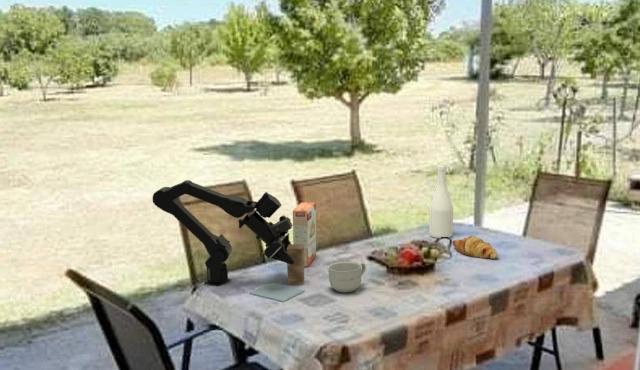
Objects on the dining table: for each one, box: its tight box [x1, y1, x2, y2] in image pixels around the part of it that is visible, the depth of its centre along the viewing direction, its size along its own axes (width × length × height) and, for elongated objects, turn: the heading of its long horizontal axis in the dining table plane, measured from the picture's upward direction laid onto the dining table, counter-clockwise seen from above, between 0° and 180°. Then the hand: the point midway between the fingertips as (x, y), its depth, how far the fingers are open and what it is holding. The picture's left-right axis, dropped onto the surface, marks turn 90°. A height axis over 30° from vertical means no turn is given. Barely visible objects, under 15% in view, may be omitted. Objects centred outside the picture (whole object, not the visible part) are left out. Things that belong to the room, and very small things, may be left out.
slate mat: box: [248, 282, 306, 303], centre depth 209 cm, size 14×11×1 cm
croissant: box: [451, 235, 499, 260], centre depth 245 cm, size 21×10×8 cm, turn 39°
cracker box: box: [292, 201, 317, 268], centre depth 239 cm, size 14×6×21 cm, turn 168°
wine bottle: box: [428, 163, 454, 239], centre depth 268 cm, size 10×10×30 cm
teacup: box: [327, 261, 367, 293], centre depth 211 cm, size 14×11×8 cm
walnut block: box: [286, 243, 305, 286], centre depth 217 cm, size 5×5×12 cm
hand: (295, 259), depth 217 cm, fingers open, 9 cm apart
